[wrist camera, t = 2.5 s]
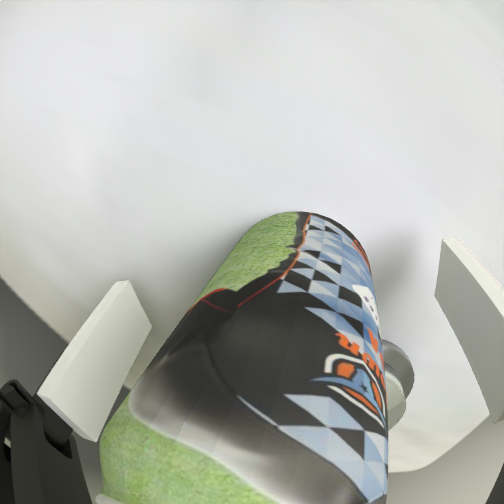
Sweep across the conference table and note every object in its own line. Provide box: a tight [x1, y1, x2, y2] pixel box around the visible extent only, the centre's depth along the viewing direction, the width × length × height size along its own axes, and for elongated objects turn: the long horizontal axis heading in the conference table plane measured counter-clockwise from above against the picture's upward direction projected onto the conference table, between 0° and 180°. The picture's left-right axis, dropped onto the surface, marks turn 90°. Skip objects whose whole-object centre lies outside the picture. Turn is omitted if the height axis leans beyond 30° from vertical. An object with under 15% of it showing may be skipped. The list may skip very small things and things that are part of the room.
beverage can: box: [95, 212, 388, 504], centre depth 8 cm, size 6×7×12 cm
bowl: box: [381, 339, 414, 430], centre depth 17 cm, size 12×12×2 cm
